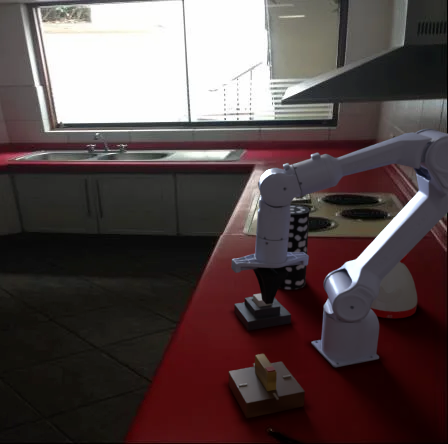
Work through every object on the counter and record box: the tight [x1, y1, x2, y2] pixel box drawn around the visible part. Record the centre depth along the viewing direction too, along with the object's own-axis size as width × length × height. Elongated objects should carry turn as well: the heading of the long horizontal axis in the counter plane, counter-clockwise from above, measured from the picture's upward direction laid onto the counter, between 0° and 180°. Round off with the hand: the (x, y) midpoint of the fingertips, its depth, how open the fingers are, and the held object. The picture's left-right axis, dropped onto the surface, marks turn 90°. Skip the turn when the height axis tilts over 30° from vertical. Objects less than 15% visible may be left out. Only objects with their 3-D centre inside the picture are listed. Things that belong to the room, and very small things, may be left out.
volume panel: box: [228, 361, 306, 419], centre depth 70 cm, size 10×9×3 cm
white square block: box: [252, 292, 271, 307], centre depth 93 cm, size 3×3×2 cm
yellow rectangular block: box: [254, 353, 277, 391], centre depth 69 cm, size 5×2×4 cm, turn 11°
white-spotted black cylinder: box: [279, 204, 311, 290], centre depth 107 cm, size 8×8×20 cm
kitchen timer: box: [366, 245, 418, 319], centre depth 95 cm, size 14×14×15 cm
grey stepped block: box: [233, 296, 292, 331], centre depth 93 cm, size 10×8×4 cm
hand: (267, 301), depth 80 cm, fingers closed
